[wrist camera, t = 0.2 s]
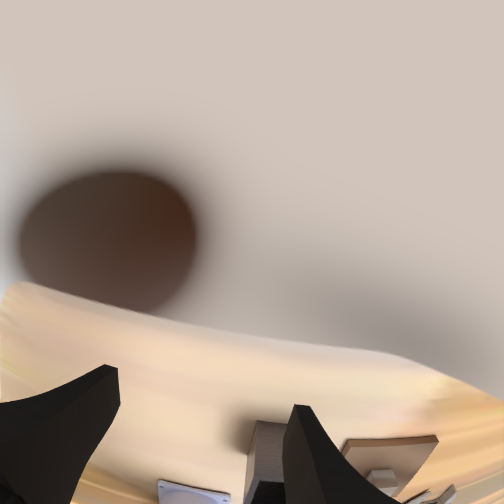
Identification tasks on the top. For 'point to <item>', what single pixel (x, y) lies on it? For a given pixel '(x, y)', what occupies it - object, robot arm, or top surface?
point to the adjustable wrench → (444, 500)
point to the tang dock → (389, 460)
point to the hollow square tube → (265, 465)
